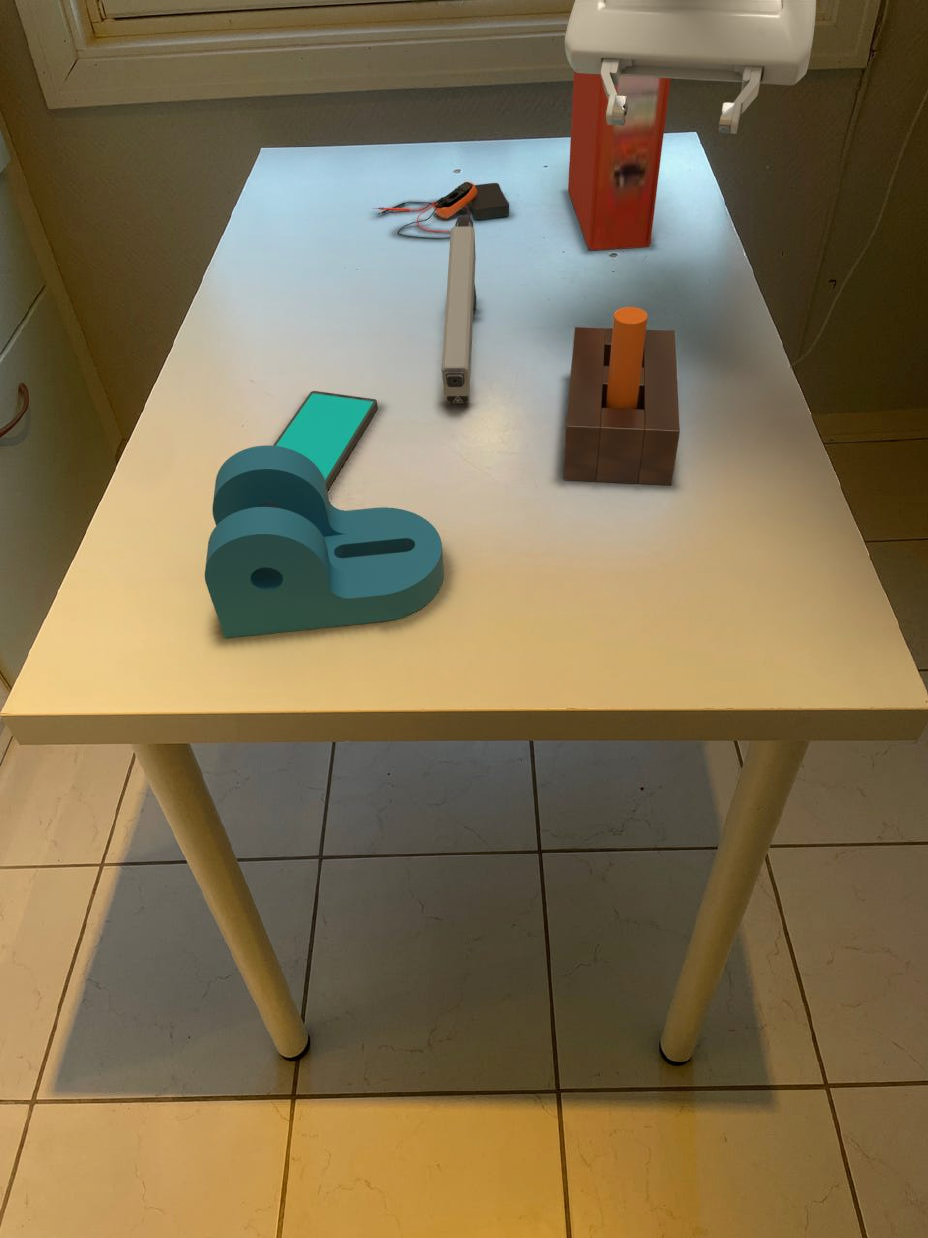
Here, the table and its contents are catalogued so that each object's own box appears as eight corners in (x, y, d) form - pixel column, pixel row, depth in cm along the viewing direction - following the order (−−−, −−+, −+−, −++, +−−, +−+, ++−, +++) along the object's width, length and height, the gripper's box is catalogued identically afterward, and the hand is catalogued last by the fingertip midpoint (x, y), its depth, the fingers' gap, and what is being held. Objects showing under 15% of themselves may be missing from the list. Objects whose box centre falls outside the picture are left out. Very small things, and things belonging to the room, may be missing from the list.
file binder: (626, 188, 127) (651, -103, 104) (652, 246, 116) (687, -67, 92) (567, 192, 127) (579, -99, 104) (588, 250, 116) (607, -62, 92)
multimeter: (375, 244, 119) (372, 218, 116) (371, 204, 127) (368, 179, 124) (514, 232, 120) (514, 206, 117) (502, 193, 128) (502, 168, 125)
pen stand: (667, 382, 96) (675, 329, 91) (671, 485, 84) (679, 431, 80) (572, 379, 97) (574, 326, 92) (563, 480, 86) (565, 426, 81)
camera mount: (224, 638, 74) (191, 540, 66) (233, 548, 81) (203, 451, 73) (449, 614, 75) (442, 515, 67) (438, 527, 82) (430, 429, 74)
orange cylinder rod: (631, 441, 89) (647, 306, 79) (631, 459, 87) (647, 324, 77) (602, 440, 89) (614, 305, 79) (601, 458, 88) (613, 323, 77)
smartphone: (377, 399, 94) (320, 492, 84) (378, 406, 94) (322, 499, 85) (310, 390, 95) (247, 479, 86) (312, 397, 96) (249, 487, 86)
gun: (478, 276, 110) (475, 201, 101) (471, 441, 97) (467, 372, 89) (457, 276, 110) (452, 201, 101) (447, 441, 97) (440, 372, 89)
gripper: (575, -73, 76) (544, 98, 77) (835, -68, 72) (798, 114, 73) (584, -23, 83) (555, 135, 84) (824, -15, 78) (790, 152, 79)
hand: (670, 125), depth 78 cm, fingers open, 8 cm apart
